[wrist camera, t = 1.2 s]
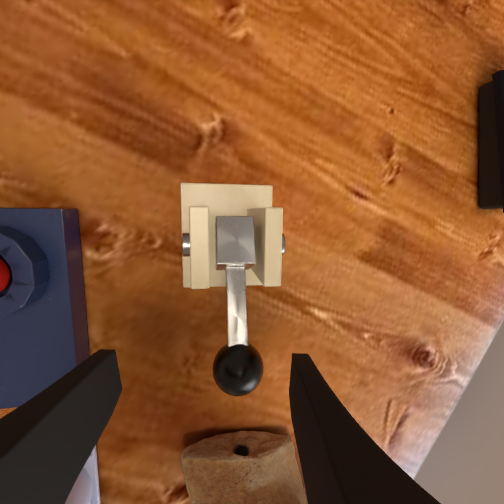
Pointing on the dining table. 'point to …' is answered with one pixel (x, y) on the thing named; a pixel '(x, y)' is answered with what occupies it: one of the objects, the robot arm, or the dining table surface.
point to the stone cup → (243, 470)
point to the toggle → (236, 306)
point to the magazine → (491, 143)
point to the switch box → (203, 232)
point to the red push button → (4, 275)
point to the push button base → (40, 301)
